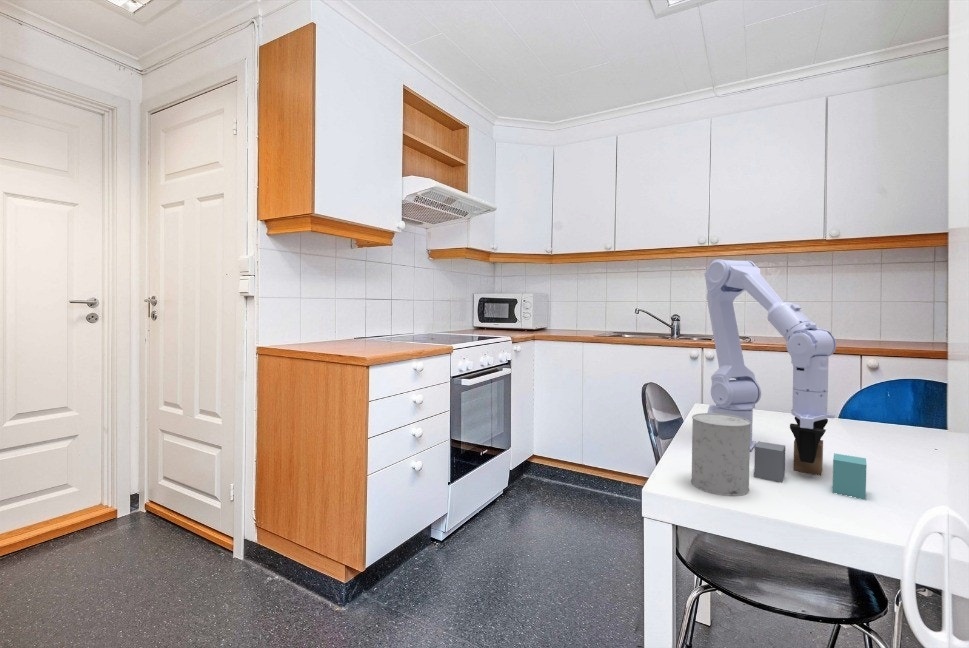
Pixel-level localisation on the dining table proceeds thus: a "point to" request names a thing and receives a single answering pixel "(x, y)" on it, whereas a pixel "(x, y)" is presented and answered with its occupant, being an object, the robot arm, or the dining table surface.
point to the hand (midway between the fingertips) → (808, 457)
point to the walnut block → (809, 467)
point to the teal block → (849, 476)
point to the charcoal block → (769, 461)
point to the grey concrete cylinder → (720, 453)
